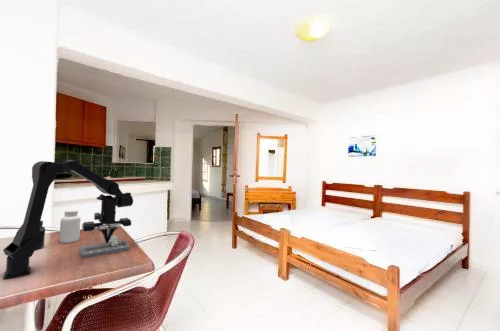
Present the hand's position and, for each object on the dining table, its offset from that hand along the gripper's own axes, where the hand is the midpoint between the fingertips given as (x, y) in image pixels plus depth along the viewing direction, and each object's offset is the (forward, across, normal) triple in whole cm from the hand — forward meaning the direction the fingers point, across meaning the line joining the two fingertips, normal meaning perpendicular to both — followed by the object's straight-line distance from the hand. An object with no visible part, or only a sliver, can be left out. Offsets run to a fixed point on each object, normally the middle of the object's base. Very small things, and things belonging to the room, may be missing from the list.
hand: (106, 242), depth 108 cm
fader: (+1, -3, 0) cm, 3 cm away
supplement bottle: (+3, +25, -19) cm, 31 cm away
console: (+3, +1, 0) cm, 3 cm away
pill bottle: (+3, +12, -23) cm, 26 cm away
